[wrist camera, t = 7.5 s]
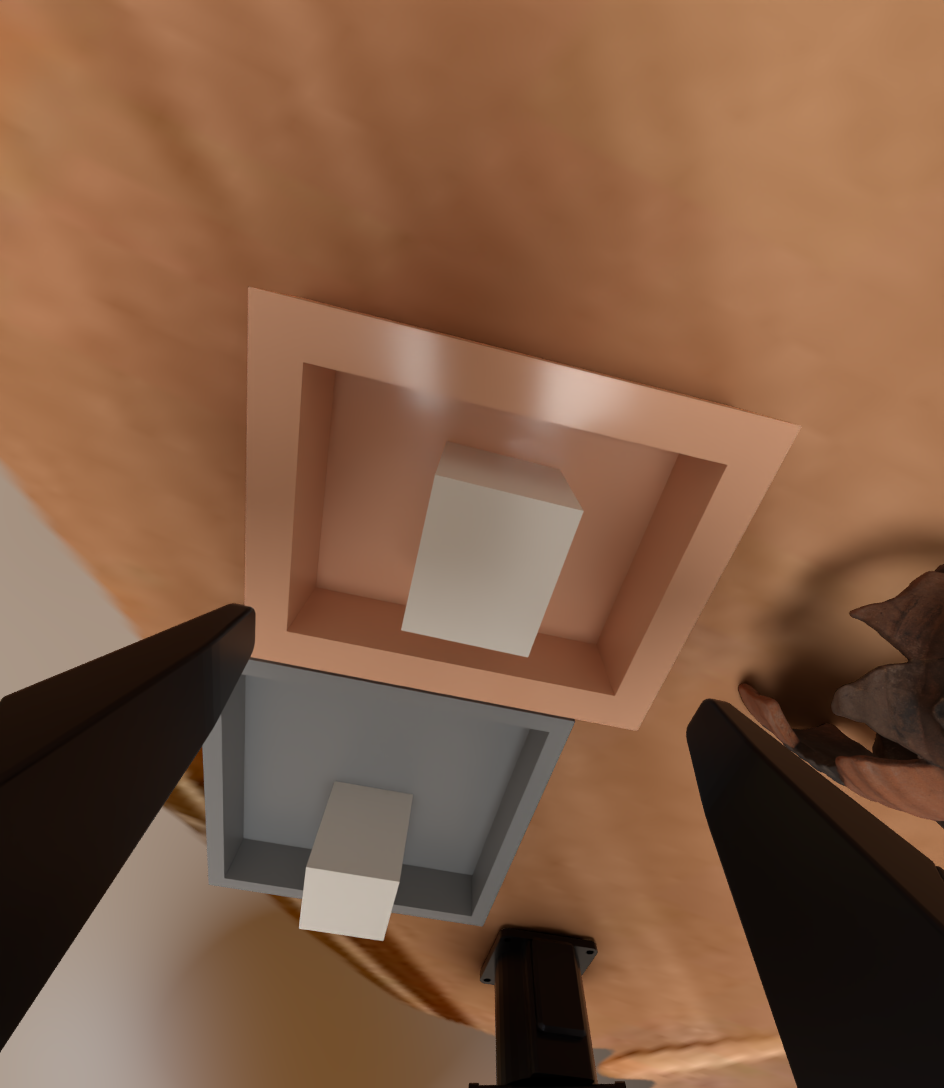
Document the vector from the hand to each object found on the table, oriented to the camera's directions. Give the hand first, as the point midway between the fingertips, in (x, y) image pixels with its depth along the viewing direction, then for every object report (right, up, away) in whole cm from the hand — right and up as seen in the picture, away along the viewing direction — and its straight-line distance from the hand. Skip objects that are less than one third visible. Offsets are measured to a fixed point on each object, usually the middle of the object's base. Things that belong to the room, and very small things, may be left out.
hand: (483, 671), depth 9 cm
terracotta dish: (0, +4, +8) cm, 9 cm away
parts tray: (-5, -9, +14) cm, 17 cm away
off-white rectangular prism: (-6, -12, +15) cm, 20 cm away
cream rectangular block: (0, +3, +7) cm, 8 cm away
